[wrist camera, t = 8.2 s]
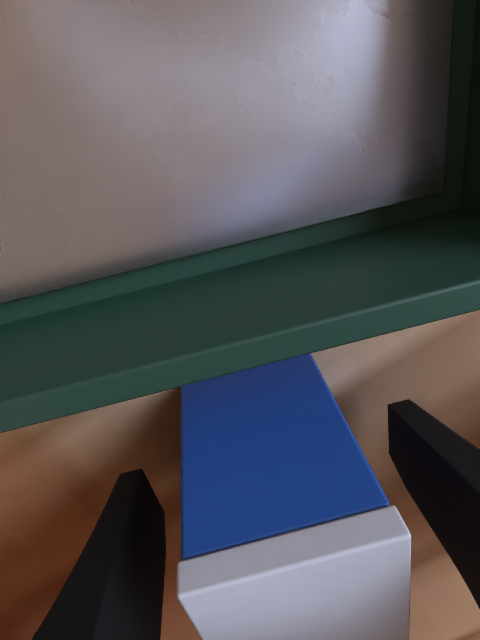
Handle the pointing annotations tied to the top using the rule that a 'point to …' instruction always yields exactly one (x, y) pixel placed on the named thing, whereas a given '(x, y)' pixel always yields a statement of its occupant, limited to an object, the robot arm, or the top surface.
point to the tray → (258, 289)
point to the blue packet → (284, 515)
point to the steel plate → (207, 125)
